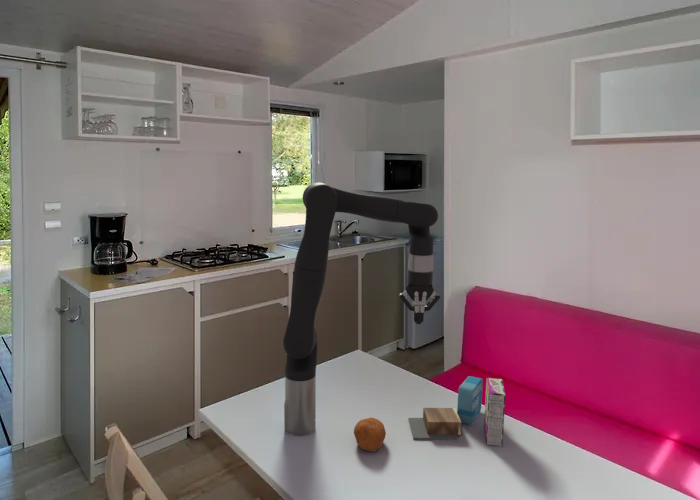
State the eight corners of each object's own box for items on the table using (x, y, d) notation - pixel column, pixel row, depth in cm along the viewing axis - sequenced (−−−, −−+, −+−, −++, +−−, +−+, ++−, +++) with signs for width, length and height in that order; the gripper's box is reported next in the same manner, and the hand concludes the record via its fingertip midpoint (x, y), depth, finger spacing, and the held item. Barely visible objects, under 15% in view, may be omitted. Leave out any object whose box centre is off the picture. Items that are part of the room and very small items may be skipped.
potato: (347, 450, 144) (348, 426, 143) (361, 431, 155) (361, 408, 153) (378, 457, 141) (379, 432, 140) (390, 438, 151) (391, 414, 150)
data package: (470, 426, 159) (472, 390, 157) (456, 423, 161) (458, 387, 159) (481, 411, 169) (483, 377, 167) (467, 407, 171) (469, 374, 169)
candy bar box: (482, 426, 159) (486, 377, 156) (499, 428, 158) (502, 378, 155) (485, 445, 148) (488, 392, 145) (502, 447, 147) (506, 394, 144)
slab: (428, 421, 152) (461, 422, 152) (423, 407, 161) (454, 407, 161) (427, 434, 152) (460, 434, 153) (422, 419, 161) (454, 419, 162)
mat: (413, 439, 151) (413, 437, 151) (408, 419, 162) (408, 417, 162) (457, 439, 151) (457, 437, 151) (448, 419, 163) (448, 418, 163)
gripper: (400, 270, 151) (398, 327, 153) (444, 271, 151) (441, 327, 154) (397, 265, 158) (395, 319, 161) (439, 266, 158) (437, 320, 161)
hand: (418, 323), depth 157 cm, fingers closed
